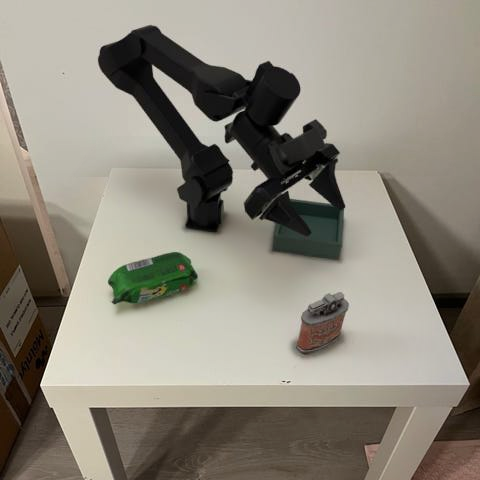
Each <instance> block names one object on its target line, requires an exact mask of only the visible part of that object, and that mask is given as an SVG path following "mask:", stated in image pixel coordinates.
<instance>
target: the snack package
mask: <svg viewBox="0 0 480 480" xmlns="http://www.w3.org/2000/svg"><path fill="white" fill-rule="evenodd" d="M198 278H199V275H198V273H197V271H196V270H195V268H194V267H193V265H192V260H191V258H189V257H188V256H187V255H186V254H183V253H182V252H178V251H172V252H167V253H162V254H160V255H156V256H152V257H148V258H144V259H140V260H136V261H132V262H129V263H126V264H124V265H122V266H119V267H118V268H117V269H115V270H114V271H113V272H112V273H111V274H110V276H109V277H108V280H107V284H108V285H109V286H110V287H111V289H112V294H113V298H112V300H111V301H110V300H109V302H111V303H112V304H113V305H117V304H119V303H124V302H125V303H128V304H133V305H134V304H136V305H137V304H143V303H146V302H151V301H154V300H156V299H160V298H163V297H168V296H171V295H172V294H176V293H179V292H182V291H184V290H188V288H190V287H191V286H192V285H193V284H194V283H195V282H196V281H197V280H198Z"/></svg>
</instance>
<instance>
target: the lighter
mask: <svg viewBox="0 0 480 480" xmlns="http://www.w3.org/2000/svg"><path fill="white" fill-rule="evenodd" d="M345 296H346V295H345V294H344V293H343V291H338V292H335V293H333V294H331V293H326V294H325V295H324V296H323V297H322V298H321V299H319V300H316V301H314V302H312V303H309V304H308V305H307V308H306V309H305V310H303V312H301V315H300V317H301V318H300V321H301V323H300V329H299V334H298V339H297V340H296V343H295V349H296V351H297V353H299V354H301V355H303V356H305V355H311V354H314V353H318V352H320V351H323V350H325V349H327V348H329V347H330V346H332V345H334V344H335V343H336V342H338V341H339V340H340V338H341V335H342V327H343V324H344V320H345V317H346V313H347V312H348V310H349V308H350V304H349V301H348V300H346V299H345Z"/></svg>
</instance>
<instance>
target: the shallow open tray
mask: <svg viewBox="0 0 480 480" xmlns="http://www.w3.org/2000/svg"><path fill="white" fill-rule="evenodd" d="M290 202H291V205H292V206H293V207H294V209H295V210H296V211H297V212H298V214H299V215H300V216H301V218H302V219H303V220H304V221H305V223H306V224H307V226H308V227H309V229H310V230H311V232H312V233H311V234H310V235H309V236H308V237H306V236H304V235H302V234H300V233H298V232H295V231H293V230H291V229H289V228H287V227H285V226H282V225H280V224H277V223H275V229H274V232H273V238H272V239H273V240H272V249H271V251H272V252H279V253H285V254H293V255H299V256H300V255H301V256H308V257H315V258H322V259H330V260H336V261H338V260H339V259H340V255H341V251H342V246H343V235H344V219H345V208H344V209H343V210H342V211H340V210H339V209H337V208H336V207H334V206H333V205H332V204H331V203H329V202H328V203H326V202H319V201H311V200H303V199H295V198H290Z"/></svg>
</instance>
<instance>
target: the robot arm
mask: <svg viewBox="0 0 480 480" xmlns="http://www.w3.org/2000/svg"><path fill="white" fill-rule="evenodd" d="M97 64H98V67H99V70H100V71H101V73H102V74H103V75H104V76H105V78H107V79H108V81H109V82H110V83H111V84H112V85H113V86H114V87H115V88H116V89H117V90H119V91H122V92H124V93H125V94H128V95H130V96H131V97H133V99H135V102H137V104H138V105H139V106H140V108H141V109H142V110H143V112H144V113H145V115H146V116H147V118H148V119H149V120H150V121H151V123H152V124H153V126H154V127H155V128H156V130H157V131H158V132H159V134H160V135H161V137H162V138H163V139H164V140H165V142H166V144H167V145H168V147H170V148H171V150H172V151H173V153H174V154H175V155H176V157H177V158H178V160H179V162H180V169H181V177H182V179H183V181H184V183H182V184H181V185H179V186H178V187H176V192H177V194H178V197H179V198H178V199H180V200H181V201H183V202H184V203H186V216H187V219H186V222H185V225H184V226H185V228H186V229H190V230H198V231H204V232H206V231H207V232H212V233H216V232H218V230H219V227H220V225H222V223H223V220H224V217H225V211H224V210H225V204H224V203H225V200H224V199H222V193H224V192H227V191H228V189H229V187H230V186H232V183H233V182H234V181H233V179H234V177H233V175H234V169H233V167H232V166H231V164H230V163H229V162H230V159H228V157H226V155H225V154H224V153H223V151H222V150H221V148H220V146H219V145H218V144H216V143H213V144H211V145H209V146H208V145H206V144H204V143H202V142H201V140H200V139H199V137H197V134H195V132H194V131H193V129H192V128H191V126H189V124H188V123H187V121H186V120H185V118H184V117H183V116H182V115H181V113H180V112H179V110H178V109H177V108H176V106H175V104H173V102H172V101H171V99H170V98H169V96H167V94H166V92H165V91H164V90H163V88H162V87H161V86H160V84H159V83H158V81H157V80H156V79H155V77H154V69H153V67H155V68H156V69H157V70H159V71H160V72H162V73H163V74H164V75H166V76H167V77H168V78H169V79H171V80H172V81H174V82H175V83H177V84H178V85H180V86H181V87H182V88H183V89H185V90H186V91H187V92H189V93H190V94H191V98H192V100H193V104H194V106H195V107H196V108H198V109H199V111H201V113H202V114H204V115H205V117H207V118H208V119H209V120H210V121H211V122H215V123H218V122H221V121H223V120H225V119H227V118H229V117H231V116H232V115H235V114H236V115H235V117H234V118H233V120H232V121H231V122H229V123H227V124H225V125H224V127H223V128H224V143H225V144H230V143H231V142H233V141H236V142H237V143H238V145H239V146H240V147H241V149H243V150H244V152H245V153H246V154H247V155H248V156H249V158H250V159H251V160H252V161H253V162H252V164H251V165H250V168H251V169H252V170H253V171H254V172H256V171H258V170H260V171H261V172H262V174H263V175H264V176H265V178H266V180H265V181H263V182H261V183H259V184H258V185H256V186H255V187H254V189H253V190H252V191H251V192H250V194H249V195H248V196H247V198H246V199H245V200H244V202H243V208H244V212H245V213H246V215H247V216H248V217H249V218H250V220H252V221H253V220H255V219H256V218H258V219H259V220H260V221H263V220H267V221H268V222H269V221H270V222H272V223H274V224H276V223H277V224H280V225H282V226H285V227H287V228H289V229H291V230H293V231H295V232H298V233H300V234H302V235H304V236H306V237H308V236H309V235H310V234H311V233H312V232H311V230H310V229H309V227H308V226H307V224H306V223H305V221H304V220H303V219H302V218H301V216H300V215H299V214H298V212H297V211H296V210H295V209H294V207H293V206H292V205H291V202H290V199H291V198H290V192H289V189H290V188H292V187H293V186H295V185H296V184H297V183H300V182H301V181H302V180H307V181H310V183H309V184H308V186H309V187H310V188H311V189H313V190H314V191H315V192H316V193H317V194H319V195H320V196H321V197H322V198H323V199H324V200H326V201H327V202H328V204H332V205H333V206H334V207H336V208H337V209H339V210H340V211H342V210H343V209H344V210H345V208H346V204H345V201H344V198H343V195H342V192H341V189H340V187H339V184H338V181H337V178H336V165H337V163H338V162H339V157H338V156H339V155H340V154H341V151H339V150H338V148H337V147H336V145H334V144H333V143H330V142H329V143H328V142H326V143H325V141H324V140H326V138H327V135H328V131H327V129H326V128H325V127H324V126H323V124H322V123H321V122H320V121H319V120H318V119H313V120H311V121H309V122H307V123H305V124H304V125H302V133H301V134H299V135H297V136H295V137H293V136H292V135H291V134H289V133H288V132H284V133H282V134H280V132H279V131H278V130H277V128H276V127H275V126H277V125H279V124H281V122H282V121H283V119H284V118H285V117H286V115H287V113H288V112H289V111H290V109H291V108H292V106H293V105H294V104H295V102H296V100H297V98H299V96H300V94H301V84H300V81H299V79H298V78H297V77H296V75H295V74H294V73H293V72H290V71H288V70H286V69H285V68H283V67H281V66H274V65H273V64H272V62H271V61H270V60H267V61H264V62H262V63H259V64H258V67H257V68H256V70H255V73H254V76H253V77H252V80H251V79H246V78H245V77H244V76H243V75H242V74H241V73H239V72H237V71H235V70H232V69H231V68H230V69H229V68H227V67H224V66H219V65H211V64H209V63H206V62H205V61H203V60H202V59H200V58H198V57H197V56H195V55H194V54H193V53H191V52H190V51H189V50H187V49H186V48H184V47H182V46H181V45H180V44H178V43H177V42H176V41H174V40H172V39H171V38H170V37H168V36H167V35H165V34H164V33H163V32H162V31H161V29H160V28H159V27H158V26H157V25H153V24H148V25H145V26H141V27H138V28H135V29H132V30H131V31H130V32H129V33H128V34H127V35H126V36H124V37H123V38H121V39H119V40H117V41H114V42H110V43H108V44H104V45H102V46H101V47H100V49H99V53H98V57H97Z"/></svg>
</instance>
